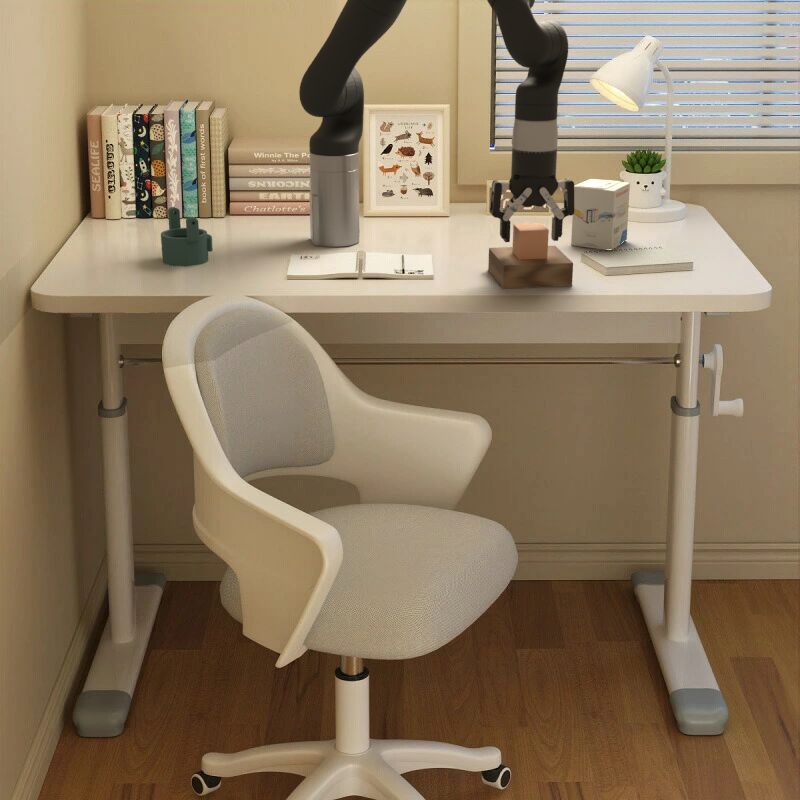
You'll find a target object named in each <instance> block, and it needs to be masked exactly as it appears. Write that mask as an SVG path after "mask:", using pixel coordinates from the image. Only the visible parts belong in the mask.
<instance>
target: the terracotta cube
mask: <svg viewBox="0 0 800 800" xmlns="http://www.w3.org/2000/svg"><path fill="white" fill-rule="evenodd" d="M512 225H513V226H512V228H513V229H512V230H513V231H512V247H513V249H512V252H513V253H514V255H515V256H516V257H517V258H518V259H547V255H548V246H549V232H550V231H549V229H548V228H547V227H546V226H545V225H544V224H543V223H542V222H535V223H533V222H532V223H513V224H512Z"/></svg>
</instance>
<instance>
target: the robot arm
mask: <svg viewBox="0 0 800 800" xmlns="http://www.w3.org/2000/svg"><path fill="white" fill-rule="evenodd" d="M407 1H408V0H347V1H346V2H345V4H344V6H343V7H342V10H341V11H340V14H338V15H339V16H338V17H337V19H336V21H335V23H334V25H333V27H332V29H331V32H330V33H329V35H328V37H327V38H326V40H325V41H324V43H323V45H322V46H321V48H320V49H319V51H318V52H317V54H316V55H315V57H314V58H313V60H312V61H311V63H310V64H309V66H308V67H307V69H306V71H305V72H304V74H303V76H302V78H301V81H300V83H299V85H300V86H299V90H298V91H299V101H300V105H301V106H302V108H303V110H304V112H306V113H307V114H308V115H309V116H312V117H316V118H321V119H322V120H321V122H320V123H321V124H320V125H319V127H318V128H317V130H316V131H315V132H314V133H313V134H312V135H311V136H310V138H309V142H308V143H309V175H310V176H309V178H310V179H309V180H310V183H309V184H310V188H309V189H310V190H309V220H310V221H309V223H310V225H309V226H310V240H311V241H310V242H311V243H312V245H313V246H321V247H335V248H336V247H338V248H339V247H348V246H353V245H355V244H358V243H359V242H360V232H361V231H360V168H359V167H360V166H359V165H360V158H359V157H360V156H359V155H360V153H359V145H360V142H361V138H362V136H363V131H364V111H365V89H364V84H363V80H362V76H361V75H360V72H359V71H358V70H357V68H356V67H355V66H356V65H357V64H358V63H359V61H360V59H361V58H362V57H363V55H364V54H366V53H367V51H368V50H370V49H371V48H372V47H373V46H374V45H375V44H376V43H377V42H378V41H379V40H380V39H381V38H382V37H383V36H384V35H385V34H386V33H387V32H388V31H389V30H390V29H391V27H392V26H393V25H394V24H395V22H396V21H397V19H398V18H399V16H400V14H401V13H402V10H403V8H404V7H405V5H406V3H407ZM486 1H487V3H488V5H489V6H490V8H491V9H492V11H493V13H494V14H495V16H496V19H497V23H498V26H499V27H498V28H499V30H500V33H501V36H502V40H503V42H504V46H505V48H506V50H507V52H508V54H509V55H510V57H511V58H512V59H513V60H514V61H515V62H516V64H517V65H519V66H521V67H522V68H527V69H528V72H527V76H526V78H525V80H524V81H522V82H521V83H519V84H518V86H517V88H516V91H515V98H514V99H515V104H514V105H515V106H514V122H513V128H512V138H511V167H510V168H511V169H510V170H511V171H510V172H511V173H510V178H509V181H499V180H498V179H493V181H491V182H492V183H491V193H490V204H489V205H490V206H489V214H490V215H491V216H492V217H493V218H495V219H496V218H497V219H499V223H500V224H499V236H500V238H501V239H503V241H504V243H510V242H511V241H510V240H511V217H512V216H513V215H514V214H515V212H517V211H518V210H519V209H520V207H521V206H522V207H524V208H529V207H534V206H535V207H539V208H540V207H543V206H544V205H546V206H547V207H548V209H549V210H550V212H551V213H552V214H553V216H552V218H551V232H550V233H551V234H550V235H551V236H550V238H551V240H552V241H553V242H555V241H556V242H557V241H559V238H561V237H562V235H563V222H564V220H565V218H566V217H568V216H573V214H574V185H575V182H574V181H573V180H572V179H570V178H568V177H567V178H564V179H561V180H557V163H558V162H557V158H558V140H559V139H558V138H559V137H558V135H559V131H558V130H559V129H558V103H559V91H560V87H561V84H562V81H563V78H564V73H565V70H566V65H567V62H568V56H569V40H568V35H567V32H566V30H565V29H564V27H563V26H562V25H561V24H560V23H558V22H556V21H554V20H543V21H537V20H536V18H535V17H534V14H533V12H532V8H533V6H534V4H535V2H536V0H486ZM558 188H559V189H560V192H561V193H563V207H562V208H560V207H559V205H558V204H557V202H556V201H555V199H554V198H553V196H554V194H555V193H556V191H557V190H558ZM507 190H509V191H510V192H511V194H512V196H511V197H510V198H509V200H508V201H507V202H506V205H505V206H504V208H502V209H501V205H502V203H501V201H502V195H504V194H505V193H506V191H507Z"/></svg>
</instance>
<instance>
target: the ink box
mask: <svg viewBox="0 0 800 800" xmlns="http://www.w3.org/2000/svg"><path fill="white" fill-rule="evenodd" d="M630 185H631V182H624V181H620V180H610V179H598V178H597V179H596V178H590V179H587V180H585V181H582V182H580V183H577V184H574V214H573V215H572V221H571V223H572V224H571V239H570V245H571V246H574V247H582V248H589V249H597V250H602V249H613V250H615V249H616V248H618V247H619V246H620V245H619V244H621V243H622V242H623V241H625V240H627V239H628V222H629V206H630V189H631V188H630V187H631V186H630ZM622 244H623V243H622ZM622 244H621V245H622ZM618 245H619V246H618ZM617 246H618V247H617ZM614 248H615V249H614Z"/></svg>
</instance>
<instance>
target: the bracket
mask: <svg viewBox="0 0 800 800" xmlns="http://www.w3.org/2000/svg"><path fill="white" fill-rule="evenodd" d="M167 216H168V229H167V230H164V231H161V233H160V243H161V257H162V263H163V264H164V265H168V266H172V267H191V266H192V267H193V266H198V265H199V266H200V265H203V264H206V263H208V261H209V260H210V259H209V252H213V236H212V235H211V234H209V233H208V231H207V230H205V229H203V228H200V227H199V220H198V218H196V217H194V216H188V217H187V218H186V220H185V226H186V227H181V225H182V224H181V211H180V209H179V208H177V207H176V206H171V207H169V208H168V209H167Z"/></svg>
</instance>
